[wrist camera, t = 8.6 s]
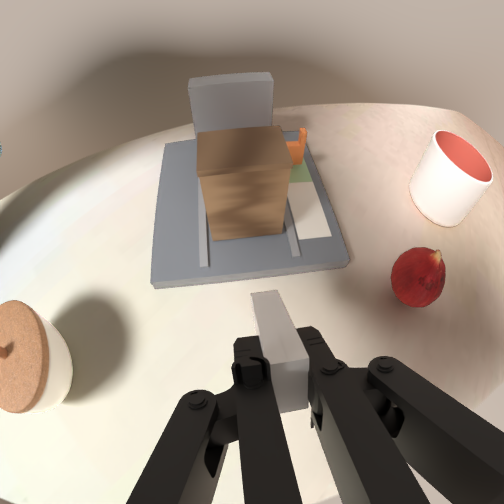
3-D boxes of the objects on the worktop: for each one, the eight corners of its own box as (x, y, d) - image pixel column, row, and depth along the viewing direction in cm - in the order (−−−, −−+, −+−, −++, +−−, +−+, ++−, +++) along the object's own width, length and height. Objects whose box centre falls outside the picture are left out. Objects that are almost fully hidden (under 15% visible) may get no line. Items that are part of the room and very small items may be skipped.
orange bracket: (213, 171, 32) (208, 138, 28) (213, 166, 33) (208, 133, 28) (301, 164, 33) (307, 132, 29) (300, 159, 33) (304, 127, 29)
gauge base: (155, 289, 27) (107, 221, 17) (167, 151, 38) (150, 85, 28) (345, 267, 28) (386, 193, 18) (299, 139, 39) (307, 72, 29)
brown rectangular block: (211, 242, 28) (196, 171, 19) (209, 203, 30) (197, 132, 22) (282, 234, 28) (293, 162, 20) (273, 196, 31) (279, 125, 22)
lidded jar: (44, 430, 18) (-16, 425, 10) (15, 350, 22) (-38, 325, 14) (106, 393, 21) (46, 381, 13) (68, 309, 26) (17, 271, 17)
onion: (430, 302, 26) (472, 270, 19) (396, 326, 25) (439, 297, 18) (405, 261, 28) (439, 221, 22) (370, 280, 27) (402, 239, 20)
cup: (461, 241, 30) (500, 196, 21) (404, 214, 32) (437, 159, 24) (456, 194, 35) (485, 151, 26) (406, 169, 37) (429, 120, 28)
